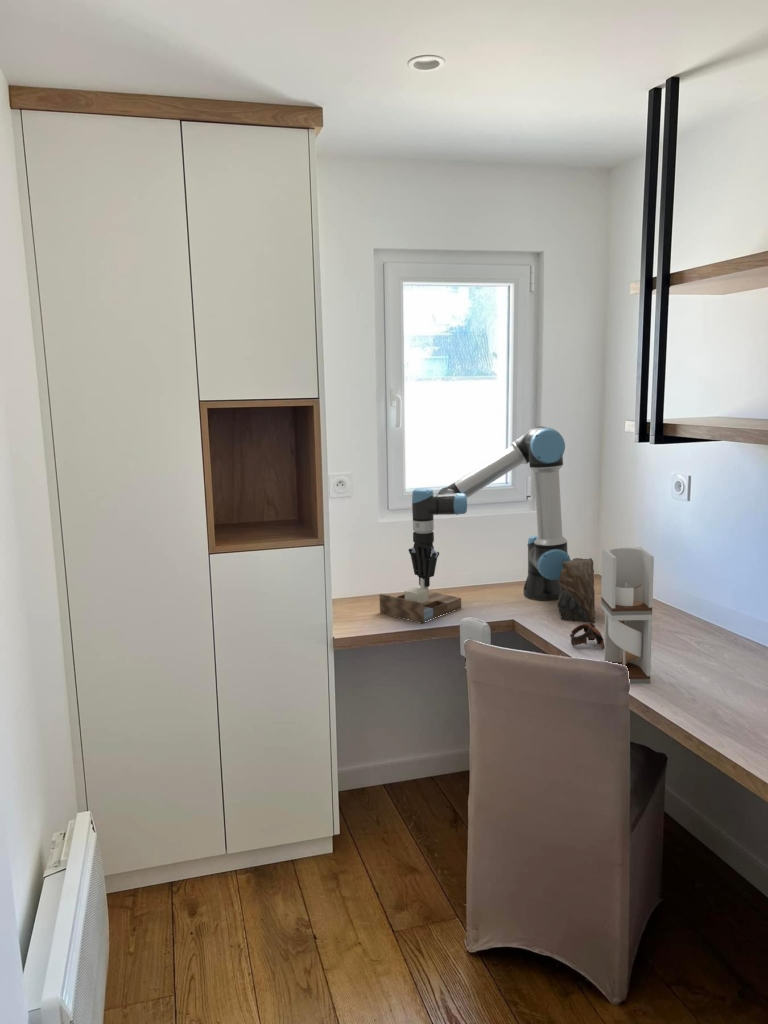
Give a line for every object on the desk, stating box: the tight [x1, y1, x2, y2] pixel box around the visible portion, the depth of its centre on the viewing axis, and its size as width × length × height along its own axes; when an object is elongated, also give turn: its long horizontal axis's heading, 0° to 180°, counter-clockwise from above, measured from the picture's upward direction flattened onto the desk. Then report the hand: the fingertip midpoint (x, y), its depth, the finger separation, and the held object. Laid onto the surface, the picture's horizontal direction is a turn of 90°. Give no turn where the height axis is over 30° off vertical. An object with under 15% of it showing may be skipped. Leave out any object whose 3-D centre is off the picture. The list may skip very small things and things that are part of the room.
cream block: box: [404, 587, 429, 603], centre depth 273 cm, size 6×6×4 cm
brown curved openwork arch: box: [569, 623, 605, 651], centre depth 234 cm, size 12×10×8 cm
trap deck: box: [378, 590, 462, 624], centre depth 275 cm, size 20×22×7 cm
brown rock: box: [557, 557, 596, 624], centre depth 261 cm, size 13×13×20 cm
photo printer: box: [459, 616, 492, 658], centre depth 226 cm, size 10×4×12 cm, turn 39°
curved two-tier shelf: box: [600, 546, 655, 684], centre depth 207 cm, size 11×11×35 cm
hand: (424, 594), depth 276 cm, fingers closed
